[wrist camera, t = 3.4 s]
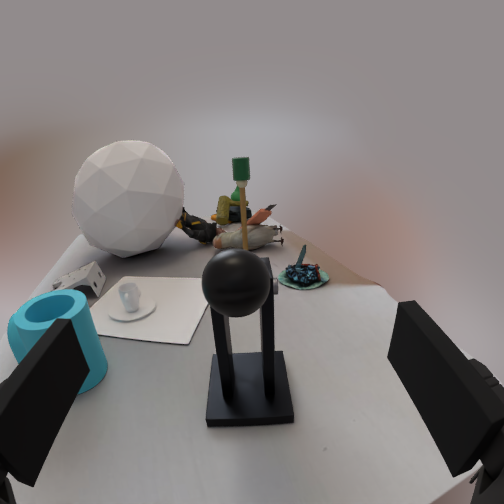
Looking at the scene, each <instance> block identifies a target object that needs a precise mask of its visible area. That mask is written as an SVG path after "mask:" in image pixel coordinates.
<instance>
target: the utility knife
mask: <svg viewBox="0 0 504 504" xmlns="http://www.w3.org/2000/svg"><path fill="white" fill-rule="evenodd" d="M274 206H276V205H270V206H268V208H266V209H260V210H259V211H258V212H257V213H255V214H254V215H253V216H252V217H251V218H250V219H249V220H248V221H247V226H248V225H256V224H260V223H261V222H263V221H265V220H266V219H267V217H268V216H269V215H271V211H270V210H271V209H272V208H273V207H274ZM240 228H242V226H241V227H240ZM240 228H239V229H240ZM239 229H238V230H239Z"/></svg>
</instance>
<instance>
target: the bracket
mask: <svg viewBox="0 0 504 504" xmlns="http://www.w3.org/2000/svg"><path fill="white" fill-rule="evenodd" d="M98 272H99V273H100V275H101V278H100V277H99V275H98ZM105 280H106V278H105V276H104V274H103V273H102V271H101V269H100V267H99V266H98V264H97V262H96V260H95V261H93V262H91V263H90V264H88V265H86V266H84V267H82V268H80V269H78V270H76V271H74V272H72V273H71V274H69V273H68V274H66V275H64V276H63V277H61V278H59V279H57V280H56V281H55V282H54V284H53V285H52V286H53V288H56V287H58V286H59V287H58V288H57V289H56V290H63V289H73V288H75V287H77V286H79V285H89V286H91V287H92V289H93V291H94V292H95V294H96V295H97V297H99V295H100V292H101V290H102V287H103V285H104V282H105ZM94 282H95V283H96V286H97V288H96V287H95V286H94ZM56 290H54V291H56Z"/></svg>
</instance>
